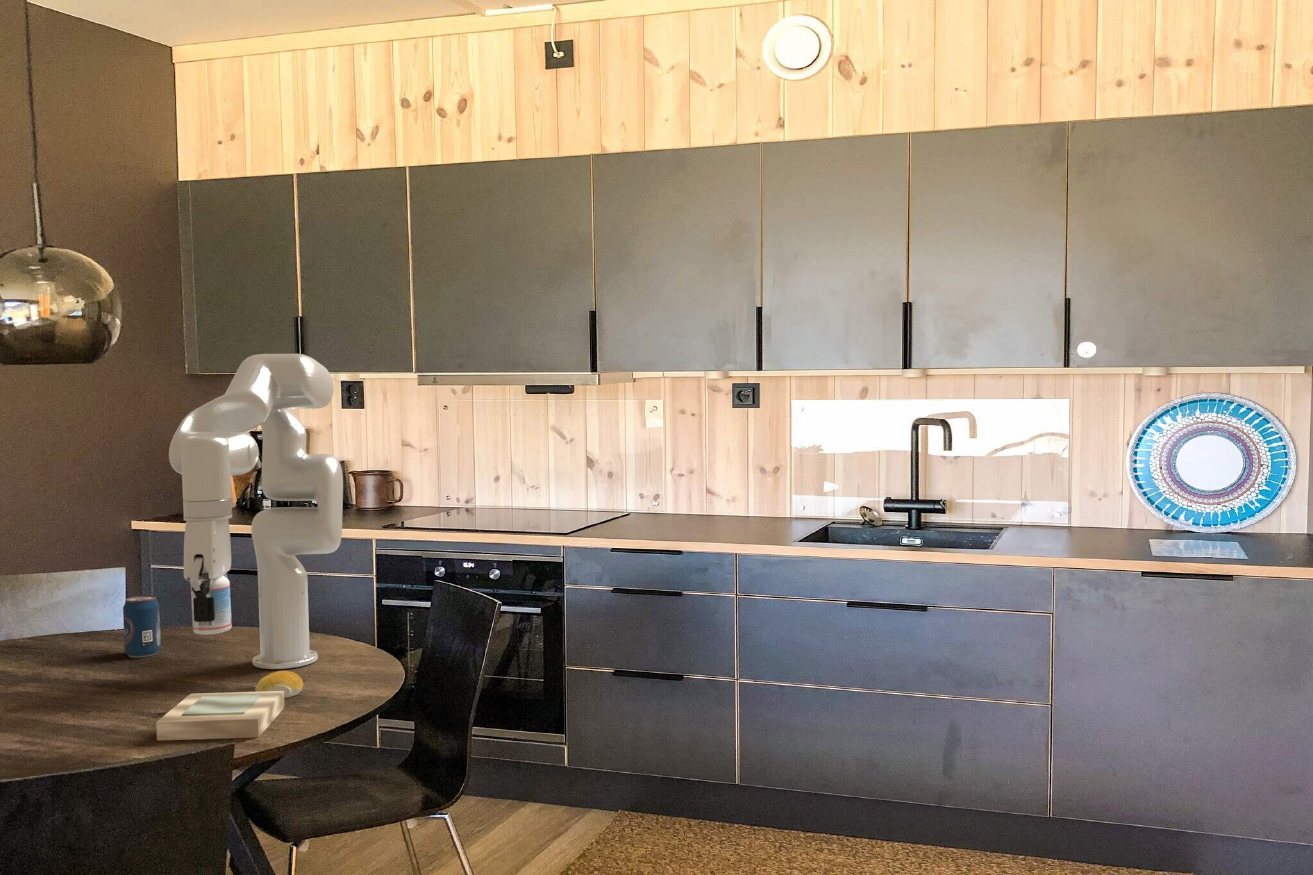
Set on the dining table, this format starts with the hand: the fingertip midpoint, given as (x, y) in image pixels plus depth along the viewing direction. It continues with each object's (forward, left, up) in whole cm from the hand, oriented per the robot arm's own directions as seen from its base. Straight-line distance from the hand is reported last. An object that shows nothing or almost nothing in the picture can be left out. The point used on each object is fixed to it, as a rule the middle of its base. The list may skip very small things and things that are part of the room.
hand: (211, 615), depth 188 cm
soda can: (-50, -31, -19) cm, 61 cm away
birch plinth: (0, +1, -18) cm, 18 cm away
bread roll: (-17, +6, -19) cm, 26 cm away
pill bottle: (0, 0, -3) cm, 3 cm away
